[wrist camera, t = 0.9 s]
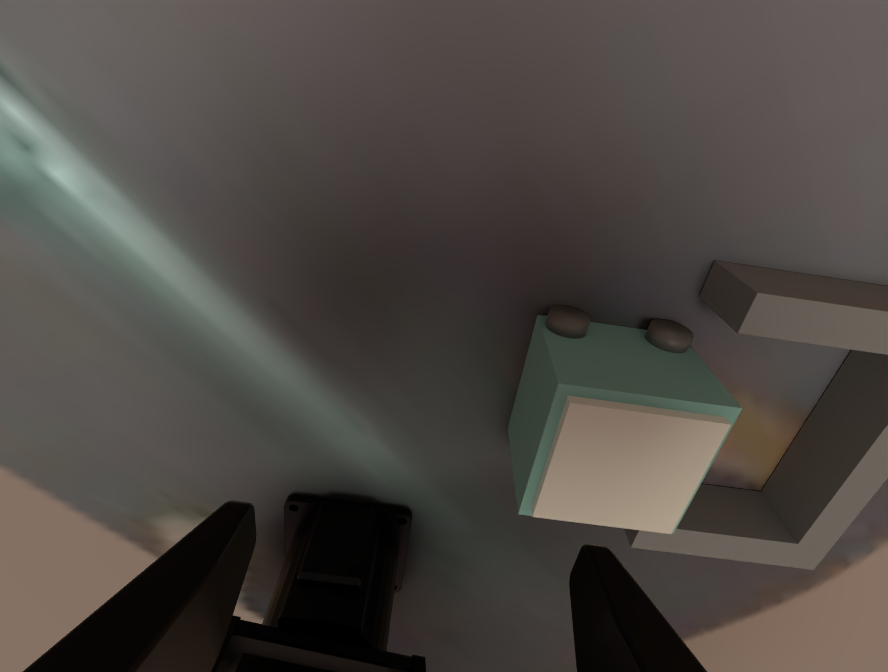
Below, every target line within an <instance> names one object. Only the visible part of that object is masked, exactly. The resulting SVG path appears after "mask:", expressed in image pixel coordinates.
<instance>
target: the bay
mask: <svg viewBox="0 0 888 672" xmlns="http://www.w3.org/2000/svg"><path fill="white" fill-rule="evenodd" d="M699 297H700V298H701V299H702V300H703V301H704V302H705V303H706V304H707V305H708V306H709V307H710V308H711V309H712V310H714V311H715V312H716V313H717V314H718V315H719V316H720V317H721V318H722V319H723V320H724V321H725V322H726V323H727V324H728V325H729V326H730V327H731V328H732V329H733V330H735V331H736V332H737V333H738V334H745V335H752V336H760V337H767V338H774V339H781V340H788V341H795V342H802V343H809V344H816V345H823V346H830V347H837V348H844V349H851V352H850V353H849V355H848V357H847V358H846V360H845V361H844V363H843V364H842V366H841V367H840V369H839V371H838V372H837V374H836V375H835V377H834V378H833V380H832V381H831V383H830V385H829V386H828V388H827V389H826V391H825V392H824V394H823V395H822V397H821V399H820V400H819V402H818V403H817V405H816V406H815V408H814V409H813V411H812V413H811V414H810V416H809V417H808V419H807V420H806V422H805V424H804V425H803V427H802V428H801V430H800V431H799V433H798V434H797V436H796V438H795V439H794V441H793V442H792V444H791V445H790V447H789V448H788V450H787V452H786V453H785V455H784V456H783V458H782V459H781V461H780V462H779V464H778V466H777V467H776V469H775V470H774V472H773V473H772V475H771V476H770V478H769V480H768V481H767V483H766V484H765V486H764V487H763V489H762V490H761V492H760V491H753V490H745V489H737V488H729V487H722V486H714V485H706V484H701V485H700V486H699V488H698V490H697V492H696V494H695V495H694V497H693V499H692V501H691V503H690V505H689V506H688V508H687V510H686V512H685V514H684V515H683V517H682V519H681V521H680V523H679V524H678V526H677V528H676V530H675V532H674V534H673V533H671V534H666V533H658V532H650V531H642V530H634V529H626V528H624V530H625V532H626V535H627V538H628V541H629V544H630V546H631V548H640V549H648V550H656V551H664V552H672V553H681V554H689V555H697V556H705V557H713V558H721V559H730V560H738V561H746V562H754V563H762V564H770V565H779V566H787V567H795V568H803V569H811V570H814V569H815V567H816V566H817V565H818V564H819V562H820V561H821V560H822V559H823V558H824V556H825V555H826V554H827V553H828V551H829V550H830V549H831V548H832V546H833V545H834V544H835V543H836V541H837V540H838V539H839V538H840V536H841V535H842V534H843V533H844V531H845V530H846V529H847V528H848V526H849V525H850V524H851V523H852V521H853V520H854V519H855V518H856V517H857V515H858V514H859V513H860V512H861V510H862V509H863V508H864V507H865V505H866V504H867V503H868V502H869V500H870V499H871V498H872V497H873V495H874V494H875V493H876V492H877V490H878V489H879V488H880V487H881V485H882V484H883V483H884V482H885V480H886V479H887V478H888V286H883V285H877V284H870V283H863V282H856V281H850V280H843V279H836V278H829V277H823V276H816V275H809V274H802V273H796V272H789V271H782V270H775V269H769V268H762V267H755V266H748V265H742V264H735V263H728V262H721V261H714V263H713V266H712V268H711V270H710V273H709V275H708V277H707V279H706V282H705V284H704V286H703V289H702V291H701V293H700V296H699Z"/></svg>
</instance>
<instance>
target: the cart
mask: <svg viewBox="0 0 888 672" xmlns="http://www.w3.org/2000/svg"><path fill="white" fill-rule="evenodd" d="M692 338H693V333H692V332H691V331H690V330H689V329H688V328H686V327H684V326H683V325H680V324H678V323H675V322H672V321H669V320H663V319H655V320H652V321H651V322H650V324H649V327H648V330H644V329H637V328H630V327H623V326H615V325H608V324H601V323H594V322H591V318H590V316H589V315H588V314H587V313H585V312H584V311H582V310H580V309H577V308H574V307H570V306H565V305H556V306H552V307H551V308H550V309H549V312H548V316H544V315H537V318H536V322H535V326H534V330H533V333H532V337H531V341H530V345H529V349H528V353H527V356H526V360H525V364H524V368H523V372H522V375H521V379H520V383H519V387H518V391H517V395H516V398H515V402H514V406H513V410H512V414H511V418H510V421H509V425H508V429H507V430H508V438H509V446H510V454H511V462H512V470H513V478H514V486H515V493H516V501H517V509H518V514H521V515H529V516H532V517H538V518H546V519H554V520H562V521H570V522H578V523H586V524H594V525H602V526H610V527H618V528H626V529H634V530H642V531H650V532H658V533H666V534H671V533H673V534H674V532H675V530H676V528H677V526H678V524H679V523H680V521H681V519H682V517H683V515H684V514H685V512H686V510H687V508H688V506H689V505H690V503H691V501H692V499H693V497H694V495H695V494H696V492H697V490H698V488H699V486H700V485H701V483H702V481H703V479H704V477H705V476H706V474H707V472H708V470H709V468H710V466H711V465H712V463H713V461H714V459H715V457H716V456H717V454H718V452H719V450H720V448H721V447H722V445H723V443H724V441H725V439H726V437H727V436H728V434H729V432H730V430H731V428H732V427H733V425H734V423H735V421H736V419H737V418H738V416H739V414H740V412H741V410H742V407H741V406H740V405H739V404H738V402H737V401H736V400H735V399H734V398H733V396H732V395H731V394H730V393H729V392H728V390H727V389H726V388H725V387H724V386H723V384H722V383H721V382H720V381H719V379H718V378H717V377H716V376H715V375H714V373H713V372H712V371H711V370H710V369H709V367H708V366H707V365H706V364H705V363H704V361H703V360H702V359H701V358H700V356H699V355H698V354H697V353H696V352H695V350H694V349H693V348H692V347H691V346H690V343H691V341H692Z"/></svg>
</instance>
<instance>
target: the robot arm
mask: <svg viewBox="0 0 888 672" xmlns="http://www.w3.org/2000/svg"><path fill="white" fill-rule="evenodd" d="M411 522H412V513H411V512H410V511H409V510H408V509H405V508H398V507H390V506H382V505H373V504H365V503H357V502H349V501H341V500H333V499H325V498H317V497H309V496H300V495H291V496H289V497H288V498H287V500H286V502H285V505H284V526H285V562H284V564H283V567H282V570H281V573H280V576H279V578H278V581H277V584H276V587H275V590H274V592H273V595H272V598H271V601H270V603H269V606H268V609H267V612H266V615H265V617H264V620H263V623H262V624H258V623H253V622H249V621H244V620H240V619H241V618H240V617H238V616H233V612H234V609H235V606H236V603H237V600H238V597H239V594H240V591H241V588H242V585H243V581H244V578H245V575H246V572H247V569H248V566H249V563H250V560H251V557H252V554H253V551H254V547H255V542H256V525H255V511H254V506H253V505H252V504H251V503H247V502H239V501H228V502H226V503H224V504H223V505H222V506H221V507H220V508H218V509H217V510H216V511H215V512H214V513H212V514H211V515H210V516H209V517H208V518H206V519H205V520H204V521H203V522H202V523H200V524H199V525H198V526H197V527H196V528H194V529H193V530H192V531H191V532H190V533H188V534H187V535H186V536H185V537H184V538H182V539H181V540H180V541H179V542H178V543H176V544H175V545H174V546H173V547H172V548H170V549H169V550H168V551H167V552H166V553H164V554H163V555H162V556H161V557H160V558H158V559H157V560H156V561H155V562H154V563H152V564H151V565H150V566H149V567H148V568H146V569H145V570H144V571H143V572H142V573H140V574H139V575H138V576H137V577H136V578H134V579H133V580H132V581H131V582H130V583H128V584H127V585H126V586H125V587H124V588H123V589H121V590H120V591H119V592H118V593H117V594H115V595H114V596H113V597H112V598H110V599H109V600H108V601H107V602H106V603H104V604H103V605H102V606H101V607H100V608H99V609H97V610H96V611H95V612H94V613H92V614H91V615H90V616H89V617H88V618H86V619H85V620H84V621H83V622H82V623H80V624H79V625H78V626H77V627H76V628H75V629H73V630H72V631H71V632H70V633H68V634H67V635H66V636H65V637H64V638H62V639H61V640H60V641H59V642H58V643H56V644H55V645H54V646H53V647H52V648H50V649H49V650H48V651H47V652H46V653H44V654H43V655H42V656H41V657H40V658H38V659H37V660H36V661H35V662H34V663H32V664H31V665H30V666H29V667H28V668H26V669H25V670H24V671H23V672H426V664H425V657H422V656H417V655H412V657H410V656H406V655H401V654H397V653H392V652H387V643H388V635H389V627H390V620H391V612H392V604H393V596H394V593H396V592H398V591H400V590H401V586H402V579H403V573H404V567H405V560H406V554H407V548H408V541H409V535H410V529H411ZM569 587H570V598H571V610H572V621H573V632H574V643H575V654H576V666H577V672H707V671H706V670H705V669H704V667H703V666H702V665H701V663H700V662H699V661H698V660H697V658H696V657H695V656H694V655H693V653H692V652H691V651H690V650H689V648H688V647H687V646H686V644H685V643H684V642H683V641H682V639H681V638H680V637H679V636H678V634H677V633H676V632H675V630H674V629H673V628H672V627H671V625H670V624H669V623H668V622H667V620H666V619H665V618H664V617H663V615H662V614H661V613H660V612H659V610H658V609H657V608H656V606H655V605H654V604H653V603H652V601H651V600H650V599H649V598H648V596H647V595H646V594H645V593H644V591H643V590H642V589H641V587H640V586H639V585H638V584H637V582H636V581H635V580H634V579H633V577H632V576H631V575H630V574H629V572H628V571H627V570H626V568H625V567H624V566H623V565H622V563H621V562H620V561H619V560H618V558H617V557H616V556H615V555H614V553H613V552H612V551H611V550H610V549H609V548H608V547H606V546H603V545H594V544H584V545H583V546H582V547H581V549H580V552H579V554H578V556H577V559H576V561H575V564H574V566H573V568H572V571H571V574H570V581H569Z"/></svg>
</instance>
